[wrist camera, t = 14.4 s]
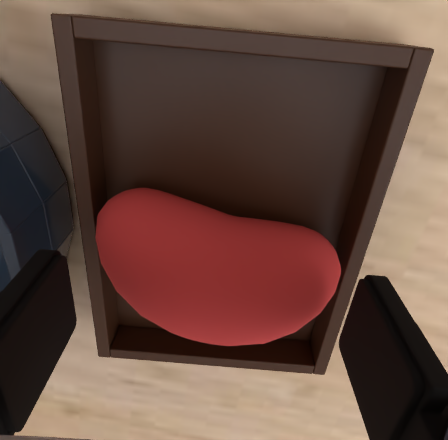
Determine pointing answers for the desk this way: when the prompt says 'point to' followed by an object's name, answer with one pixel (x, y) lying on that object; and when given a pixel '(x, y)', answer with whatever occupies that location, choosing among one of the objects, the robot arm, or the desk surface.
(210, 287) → the red kidney bean
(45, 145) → the bowl
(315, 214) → the tray
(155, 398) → the desk surface
